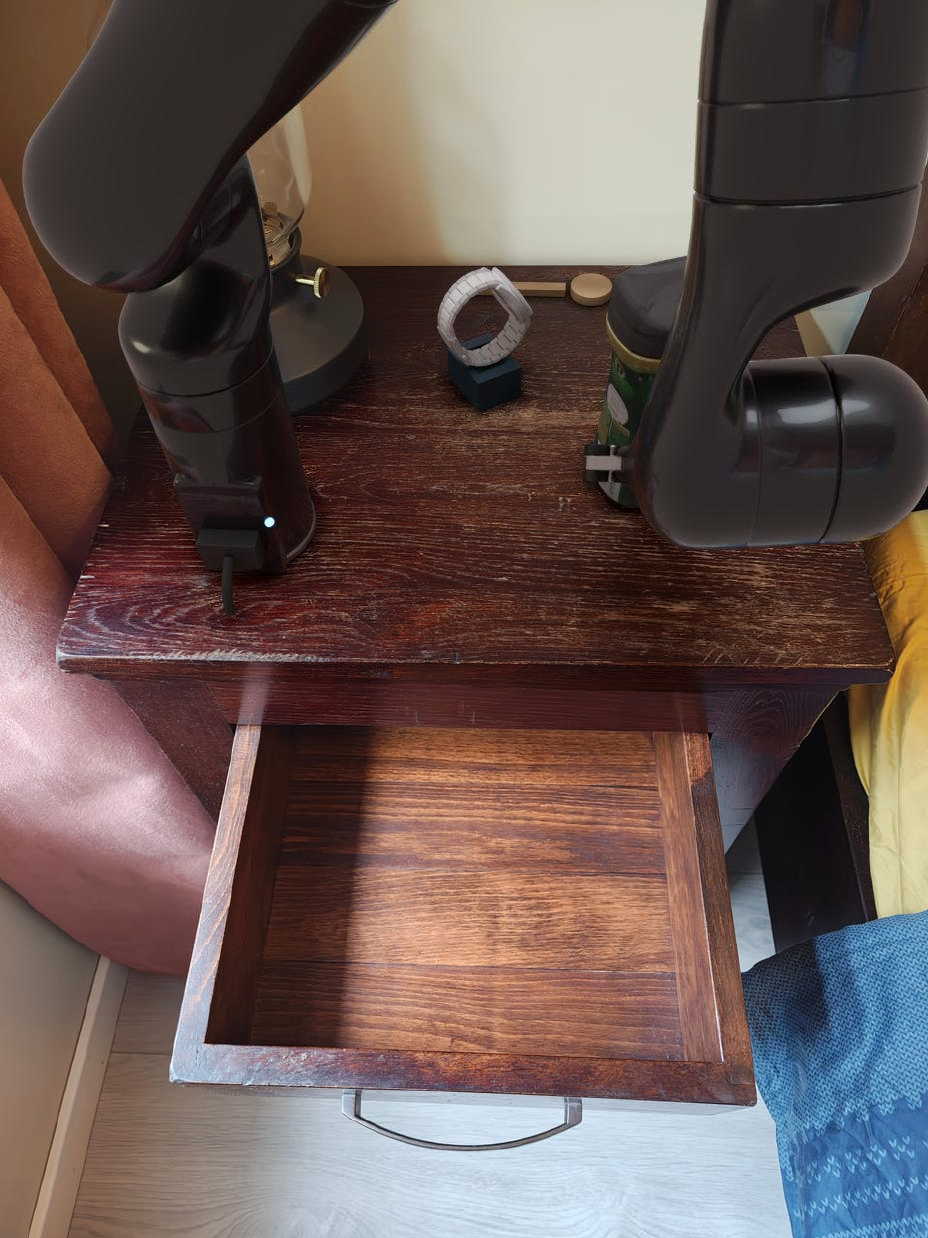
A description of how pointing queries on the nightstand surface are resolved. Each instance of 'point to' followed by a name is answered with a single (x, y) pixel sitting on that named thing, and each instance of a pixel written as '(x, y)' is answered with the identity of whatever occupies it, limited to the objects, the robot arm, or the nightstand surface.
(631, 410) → the coffee jar
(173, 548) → the nightstand surface
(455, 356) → the watch
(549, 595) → the nightstand surface
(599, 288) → the spoon
